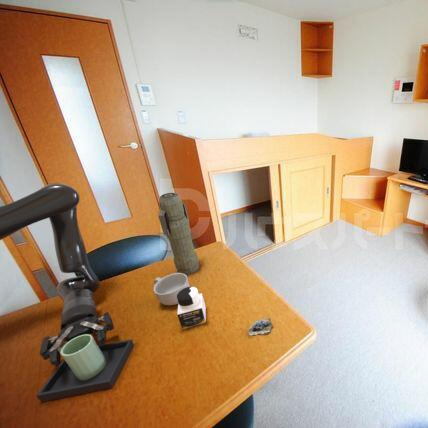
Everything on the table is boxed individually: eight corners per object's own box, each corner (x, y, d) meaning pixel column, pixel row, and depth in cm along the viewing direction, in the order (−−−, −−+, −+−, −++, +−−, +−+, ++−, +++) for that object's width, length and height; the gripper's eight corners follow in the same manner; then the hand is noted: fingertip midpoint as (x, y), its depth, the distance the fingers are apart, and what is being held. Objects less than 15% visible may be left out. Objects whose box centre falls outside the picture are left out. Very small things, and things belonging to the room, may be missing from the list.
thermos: (170, 276, 100) (145, 200, 85) (187, 260, 111) (168, 189, 96) (189, 278, 99) (168, 201, 85) (205, 261, 110) (188, 190, 95)
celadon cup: (71, 382, 62) (53, 358, 58) (86, 360, 67) (71, 336, 63) (98, 377, 63) (83, 353, 59) (110, 356, 68) (97, 332, 64)
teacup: (197, 295, 91) (193, 279, 87) (168, 315, 83) (162, 297, 79) (177, 282, 98) (173, 266, 94) (149, 298, 89) (142, 281, 86)
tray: (41, 401, 58) (35, 395, 57) (75, 355, 69) (71, 349, 68) (112, 387, 62) (108, 381, 60) (134, 345, 72) (131, 339, 71)
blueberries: (275, 331, 77) (274, 327, 76) (250, 342, 74) (249, 338, 73) (268, 316, 83) (268, 312, 82) (245, 326, 79) (244, 321, 78)
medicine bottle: (182, 330, 77) (172, 302, 72) (183, 313, 83) (175, 287, 78) (205, 322, 80) (198, 296, 75) (205, 307, 86) (199, 281, 81)
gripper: (39, 318, 66) (31, 361, 56) (105, 294, 75) (109, 326, 64) (51, 337, 70) (46, 380, 59) (113, 311, 78) (119, 345, 68)
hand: (79, 352), depth 62 cm, fingers open, 8 cm apart
